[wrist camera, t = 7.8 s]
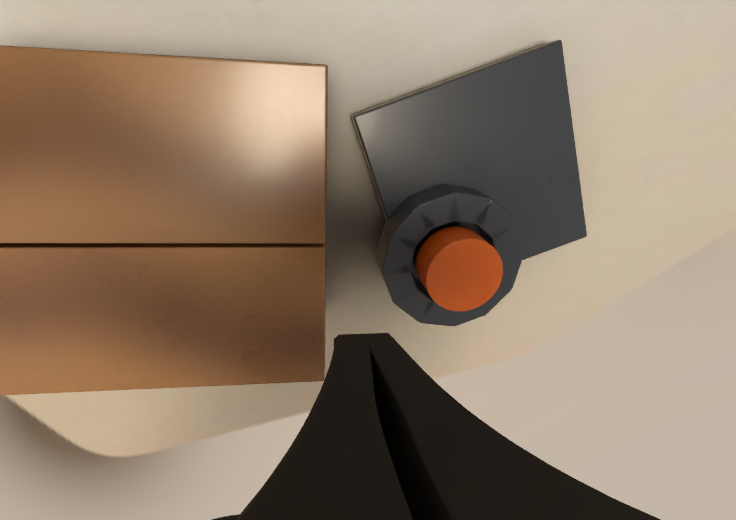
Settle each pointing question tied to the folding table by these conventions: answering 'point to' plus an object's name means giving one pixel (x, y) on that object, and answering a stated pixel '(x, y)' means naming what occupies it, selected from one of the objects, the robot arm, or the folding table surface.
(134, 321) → the flap
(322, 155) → the carton
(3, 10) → the folding table surface
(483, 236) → the control box
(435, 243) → the button
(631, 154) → the folding table surface
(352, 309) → the folding table surface
